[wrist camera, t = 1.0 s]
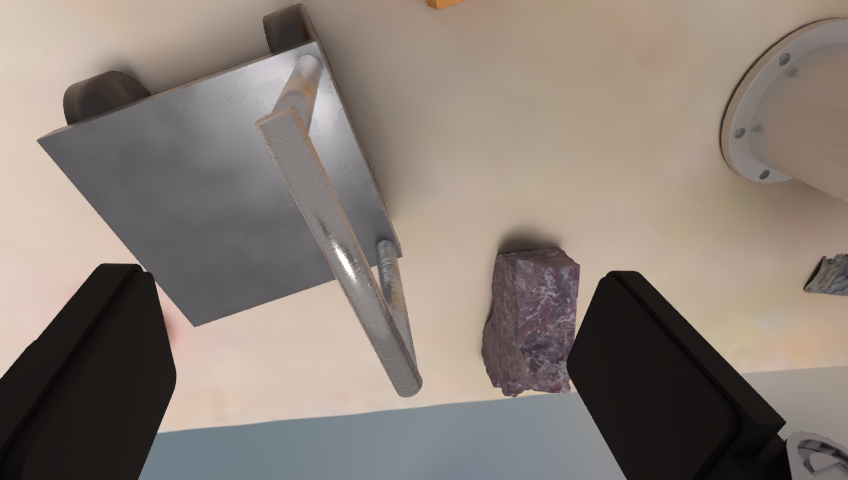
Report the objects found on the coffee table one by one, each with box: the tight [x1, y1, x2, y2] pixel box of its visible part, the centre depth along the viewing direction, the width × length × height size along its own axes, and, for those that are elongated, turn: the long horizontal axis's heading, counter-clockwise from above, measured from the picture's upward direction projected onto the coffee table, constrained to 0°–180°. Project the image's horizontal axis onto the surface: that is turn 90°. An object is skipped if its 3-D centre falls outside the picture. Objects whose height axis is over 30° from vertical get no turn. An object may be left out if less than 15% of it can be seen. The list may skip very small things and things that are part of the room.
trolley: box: [37, 4, 422, 397], centre depth 22 cm, size 14×16×18 cm
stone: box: [482, 248, 580, 397], centre depth 37 cm, size 10×6×15 cm
